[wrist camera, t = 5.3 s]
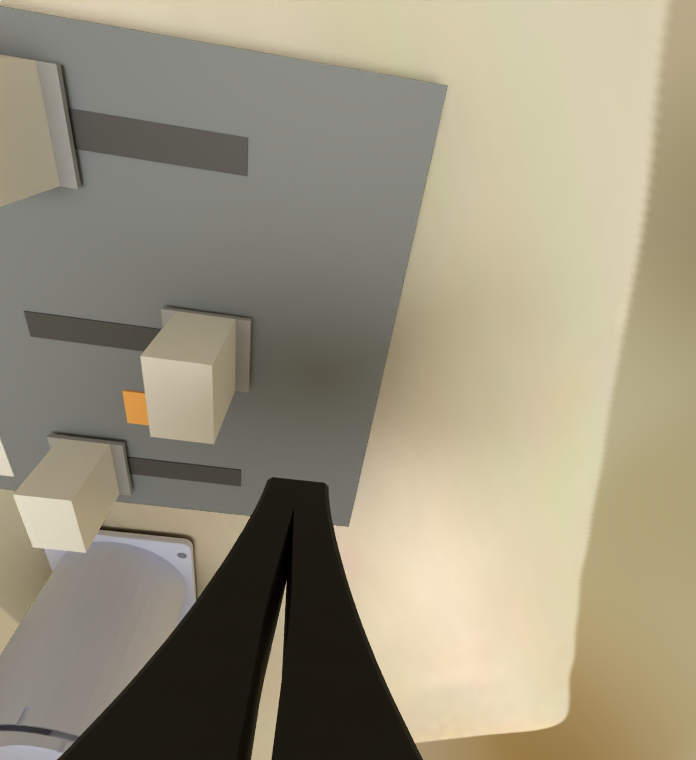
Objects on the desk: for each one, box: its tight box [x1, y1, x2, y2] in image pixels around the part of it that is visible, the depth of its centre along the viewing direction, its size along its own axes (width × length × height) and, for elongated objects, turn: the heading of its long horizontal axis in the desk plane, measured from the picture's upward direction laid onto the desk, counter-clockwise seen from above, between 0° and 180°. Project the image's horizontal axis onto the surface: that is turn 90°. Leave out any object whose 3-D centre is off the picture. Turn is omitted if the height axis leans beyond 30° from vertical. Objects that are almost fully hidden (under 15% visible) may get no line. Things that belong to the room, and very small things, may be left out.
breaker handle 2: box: [13, 434, 133, 553], centre depth 18 cm, size 3×3×3 cm
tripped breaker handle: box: [140, 307, 252, 444], centre depth 15 cm, size 3×3×3 cm
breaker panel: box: [0, 6, 448, 527], centre depth 17 cm, size 18×18×2 cm
